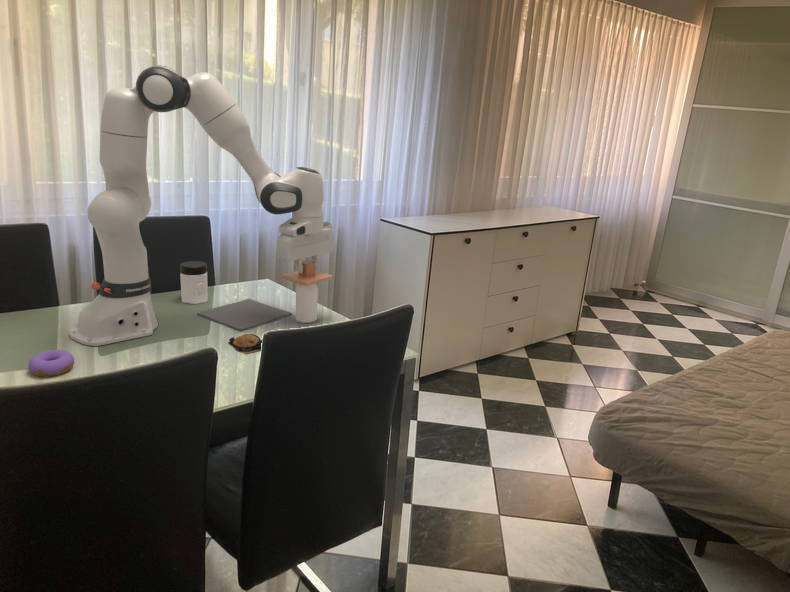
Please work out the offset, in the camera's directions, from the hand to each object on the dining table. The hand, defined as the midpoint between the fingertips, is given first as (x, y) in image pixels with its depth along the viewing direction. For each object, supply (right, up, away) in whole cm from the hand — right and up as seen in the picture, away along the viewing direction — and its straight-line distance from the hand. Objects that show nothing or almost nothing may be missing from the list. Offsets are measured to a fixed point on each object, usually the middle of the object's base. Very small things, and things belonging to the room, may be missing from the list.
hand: (306, 271), depth 180 cm
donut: (-54, -25, -37) cm, 70 cm away
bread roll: (-13, -21, -16) cm, 30 cm away
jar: (-38, -9, +17) cm, 43 cm away
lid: (0, -2, +1) cm, 2 cm away
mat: (-20, -13, +6) cm, 24 cm away
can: (-1, -15, +5) cm, 16 cm away
